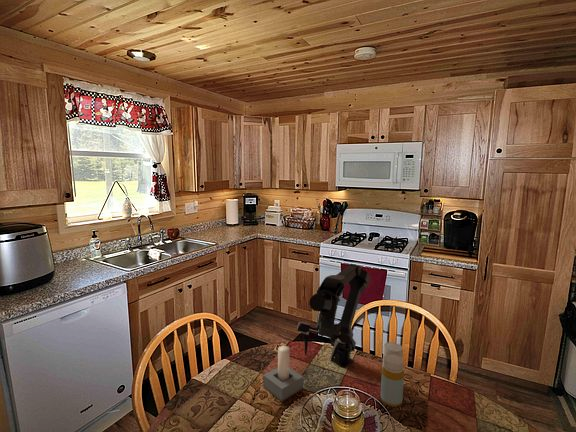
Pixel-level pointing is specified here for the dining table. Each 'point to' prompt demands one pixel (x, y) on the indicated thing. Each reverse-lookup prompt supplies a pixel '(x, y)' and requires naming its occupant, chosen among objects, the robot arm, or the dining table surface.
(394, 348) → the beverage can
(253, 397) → the dining table surface
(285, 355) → the peg
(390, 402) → the bottle
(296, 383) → the hole block
